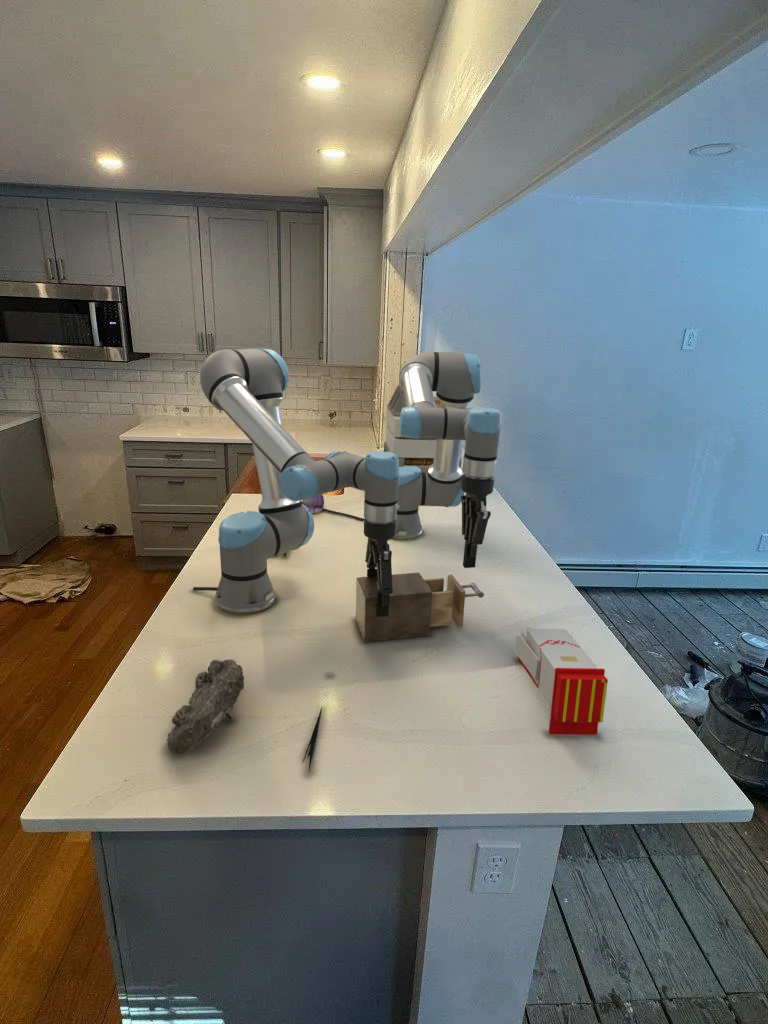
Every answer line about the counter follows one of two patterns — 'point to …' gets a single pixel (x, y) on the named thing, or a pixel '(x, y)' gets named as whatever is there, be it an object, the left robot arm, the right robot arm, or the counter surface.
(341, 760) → the counter surface
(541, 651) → the toy
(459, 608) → the drawer
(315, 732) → the feather
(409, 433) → the right robot arm
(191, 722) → the fossil
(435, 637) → the counter surface
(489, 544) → the counter surface
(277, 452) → the left robot arm
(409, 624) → the cabinet
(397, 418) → the transformer
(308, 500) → the figurine
